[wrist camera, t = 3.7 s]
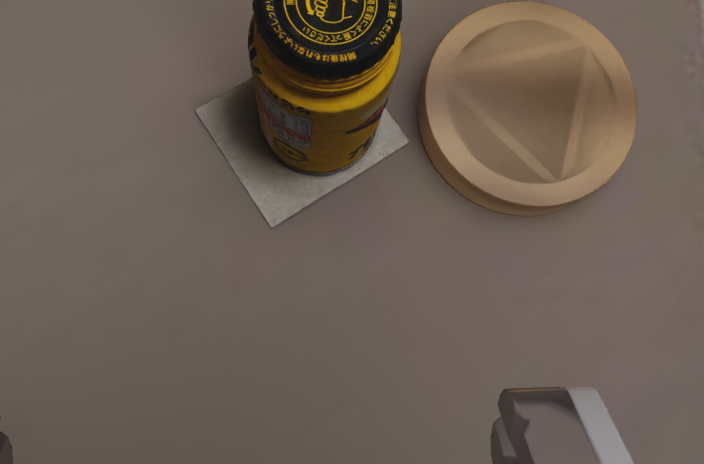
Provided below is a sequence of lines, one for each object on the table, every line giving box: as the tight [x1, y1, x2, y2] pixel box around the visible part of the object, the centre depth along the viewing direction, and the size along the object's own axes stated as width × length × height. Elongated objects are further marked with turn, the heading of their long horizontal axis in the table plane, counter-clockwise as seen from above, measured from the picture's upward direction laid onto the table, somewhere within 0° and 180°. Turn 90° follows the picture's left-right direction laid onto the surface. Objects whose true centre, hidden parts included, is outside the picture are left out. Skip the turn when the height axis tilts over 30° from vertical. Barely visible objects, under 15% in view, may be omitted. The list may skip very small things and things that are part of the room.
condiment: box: [195, 0, 409, 228], centre depth 28 cm, size 7×8×12 cm
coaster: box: [417, 1, 637, 216], centre depth 34 cm, size 11×11×2 cm
